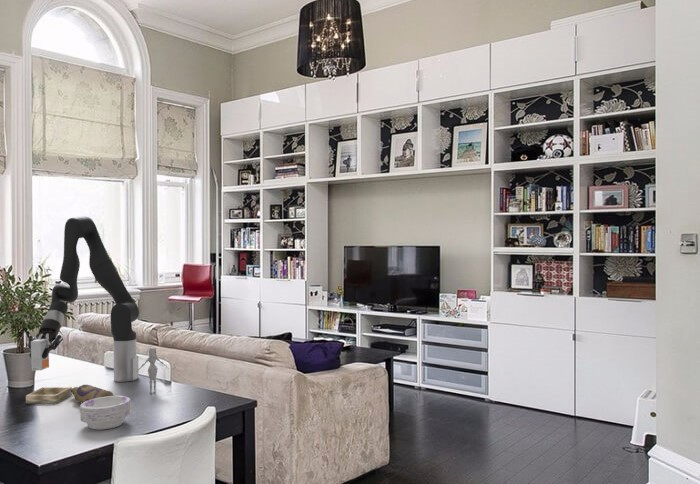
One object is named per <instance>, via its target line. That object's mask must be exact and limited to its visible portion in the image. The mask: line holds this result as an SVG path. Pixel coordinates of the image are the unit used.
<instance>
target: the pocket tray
mask: <svg viewBox="0 0 700 484" xmlns="http://www.w3.org/2000/svg"><path fill="white" fill-rule="evenodd" d="M72 388H73V387H70V386H68V387H67V386H65V387H63V386H62V387H59V386H57V387H55V386H53V387H47V386H45V387H41V388H38V389H36V390H34V391H32V392H30V393H28V394H26V395H25V404H29V405H30V404H32V405H33V404H36V405H37V404H41V405H42V404H58V403H60V402H62V401H64V400H65V399H67V398H70V397H71V396H72V395H73V394H72V392H71V390H72Z"/></svg>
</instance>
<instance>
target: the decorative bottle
mask: <svg viewBox="0 0 700 484" xmlns="http://www.w3.org/2000/svg"><path fill="white" fill-rule="evenodd" d="M71 392H72V395H73V398H74V400H75V401H76V402H78V403H80V404H82V403H83V402H85V401H88V400H91V399H95V398H100V397H106V396H115V395H114V393H113V392H112V391H110V390H107V389H102V388H100V387H96V386H93V385H91V384H82V385H79V386H74V387H72V390H71Z"/></svg>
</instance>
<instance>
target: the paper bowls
mask: <svg viewBox="0 0 700 484" xmlns="http://www.w3.org/2000/svg"><path fill="white" fill-rule="evenodd" d="M79 408H80V409H79V416H80V417H79V418H80V421H81V422H82V423H86V424H87V426H88V428H89V429H91V430H95V431H96V430H99V431H100V430H109V429H114V428H117V427H119V426H121V425H123V423H124V421H125V419H126V418H127V417H128V416H130V415H131V398H130V397H129V396H124V395H114V396H106V397H100V398H95V399H91V400H88V401H85V402H83V403H80V405H79Z"/></svg>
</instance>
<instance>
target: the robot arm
mask: <svg viewBox="0 0 700 484" xmlns="http://www.w3.org/2000/svg"><path fill="white" fill-rule="evenodd" d="M63 232H64V233H63V234H64V235H63V259H62V265H61V269H60V274H59V279H60V281H62V282H63V283H65V284H61V283H60V284H59V283H58V284H55V285H54V286H53V288H52V290H53V291H51V302H50V306H49V308H48V310H47V312H46V313H45V316H44V318H43V319H42V322H41V325H40V326H39V329H38V333H37V334H36V335H30V336H28V344H27V347H28V349H29V350H30V353H29V357H30V359H31V341H34V340H37V339H47V342H46V348H45V349H44V351H43V354H42V358H43V359H46V357H47V356H48V354H49V355H50V352H51V351H52V350H53V351H55V350H56V349H57V348H58V347H59V345H60V344H61V343H62V341H63V340H64V339H63V336H62V335H61V334H59V333H60V330H61V328H62V326H63V323H64V320H65V318H66V314H67V312H68V308H69V307H68V304H67V303H74V302H76V300H77V299H78V297H79V289H78V276H79V271H80V267H81V265H80V263H81V262H80V258H79V255H78V251H77V245H78V241H79V239H84V241H85V243H86V245H87V246H88V251H89V257H88V258H89V261H88V265H89V269H90V271H91V273H92V275H93V277H94V279H95V280H96V282H97V283H98V284H99V286H100V287H102V288H103V289H104V290H105V291H106V292H107V293H108V294H109V295H110V296H111V298H112V299H113V301H114V303H115V305H113V306H112V307H111V309H110V310H111V311H110V329H111V335H112V338H113V339H112V340H113V341H112V342H113V381H114V382H121V383H123V382H133V381H134V382H135V380H137V379H138V378H139V376H140V375H139V371H140V369H139V368H140V367H139V356H138V354H137V332H136V331H134V330H133V325H132V322H133V323H134V322H135V321H136V320H137V319H138V318H139V316H140V309H139V307H138V304H137V303H136V301H135V299H134V298H133V297H132V295H131V294H130V293H129V291H128V289H127V287H126V286H125V284H124V282H123V279H122V278H121V276H120V274H119V273H118V270H117V268H116V266H115V264H114V262H113V260H112V259H111V257H110V255H109V253H108V251H107V249H106V247H105V245H104V243H103V241H102V238H101V236H100V233H99V231H98V229H97V226H96V223H95V222H94V221H93V219H92V218H91V217H89V216H75V217H71V218H68V219H67V220H66V222H65V224H64V231H63ZM66 284H68V285H66ZM138 369H139V371H138ZM137 371H138V372H137Z"/></svg>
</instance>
